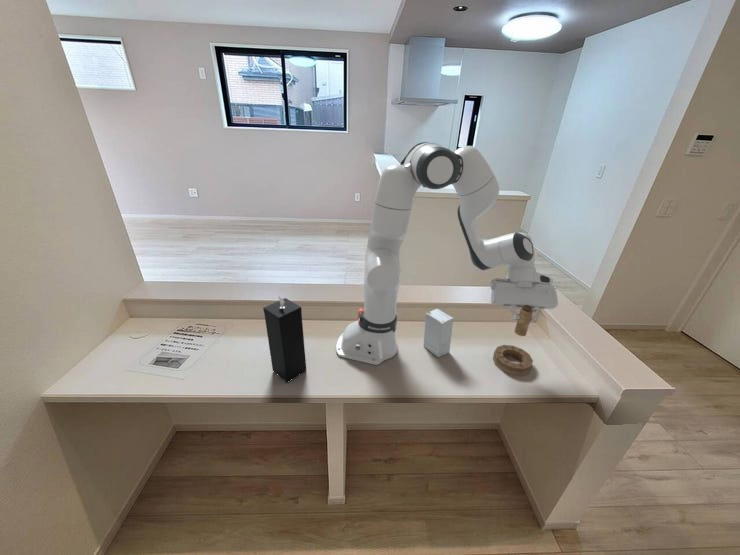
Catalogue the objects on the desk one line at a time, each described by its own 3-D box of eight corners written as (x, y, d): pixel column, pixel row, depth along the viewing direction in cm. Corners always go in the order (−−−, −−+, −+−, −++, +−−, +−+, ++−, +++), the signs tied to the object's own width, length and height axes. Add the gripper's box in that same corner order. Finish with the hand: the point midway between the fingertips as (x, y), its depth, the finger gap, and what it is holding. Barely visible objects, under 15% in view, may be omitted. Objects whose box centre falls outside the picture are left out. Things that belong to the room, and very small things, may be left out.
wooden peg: (516, 335, 102) (523, 309, 97) (513, 329, 105) (520, 303, 100) (527, 336, 101) (535, 310, 97) (524, 330, 105) (531, 304, 100)
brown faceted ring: (498, 373, 104) (500, 366, 103) (489, 350, 115) (491, 343, 113) (535, 376, 103) (538, 369, 102) (523, 353, 114) (525, 346, 112)
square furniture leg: (287, 383, 97) (277, 307, 85) (272, 371, 102) (261, 297, 90) (306, 370, 103) (300, 297, 90) (292, 359, 107) (284, 288, 95)
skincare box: (449, 352, 113) (455, 318, 106) (437, 358, 110) (442, 323, 103) (433, 340, 119) (438, 307, 113) (421, 345, 116) (425, 312, 110)
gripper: (493, 274, 102) (494, 315, 98) (558, 278, 101) (562, 321, 96) (487, 280, 108) (488, 319, 104) (548, 284, 107) (552, 324, 102)
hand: (524, 320), depth 100 cm, fingers closed on wooden peg, 4 cm apart
